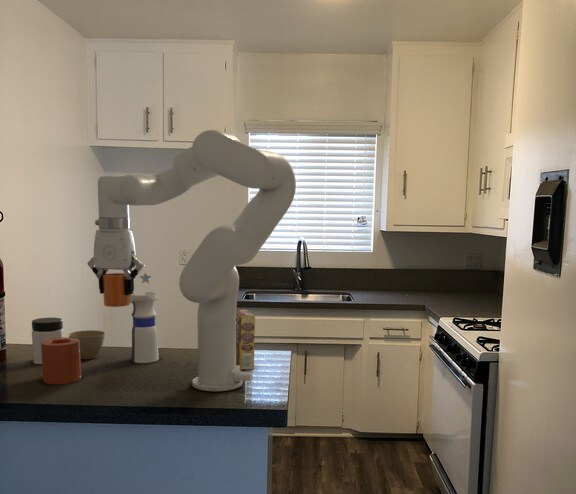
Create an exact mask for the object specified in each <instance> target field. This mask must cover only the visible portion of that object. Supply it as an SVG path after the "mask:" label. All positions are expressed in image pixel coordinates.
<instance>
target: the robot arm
mask: <svg viewBox="0 0 576 494" xmlns="http://www.w3.org/2000/svg"><path fill="white" fill-rule="evenodd" d="M172 161H173V162H172V163H173V165H172V166H171V167H169V168H167V169H165V170H163V171H161V172H159V173H155V174H153V175H143V174H126V175H102V176H100V177H98V179H97V202H98V203H97V207H98V219H95V221H94V224H95V226H98V229H96V230H95V234H94V242H93V257H91V258H90V259H89V261H87V266H88V267H89V268H90V269H91V270H92V272H93V274H94V275H95V276H96V279H98V289H99V294H101V295H104V293H103V274H108V272H109V270H118V271H119V270H120V271H122V273H124V274H125V276H126V280H125V281H124V282H125V295H130V294H133V293H134V291H135V282H134V281H135V279H136V277H137V276H138V275H139V274H140V273H141V271H142V270H143V269H144V268H145V264H144V263H143V261H142V260H141V259H139V257H137V254H136V253H137V251H136V245H135V238H134V235H133V230H131V228H130V206H136V207H137V206H157V205H160V204H164V203H166V202H169V201H170V200H172V199H175V198H177V197H180V196H181V195H183V194H185V193H187V192H188V191H189V190H191V188H192V187H194V186H196V185H199V184H201V183H203V182H205V181H208V180H210V179H212V178H215V177H217V176H220V177H222V178H225V179H226V180H229V181H231V182H233V183H235V184H237V185H240V186H243V187H245V188H249V189H254V190H255V189H258V191H257V193H256V194H255V196H253V197H252V199H250V200H249V201H248V203H246V205H245V206H244V208H243V209H242V211H241V213H240V214H239V215H238V217H237V218H236V219H235V220H234V221H233V222H232V223H231V224H226V225H225V224H224V225H220V226H218V227H215V228H214V229H212V230H211V231H209V233H207V234H206V235H205V237H204V239H202V241H201V242H200V244H199V245H198V247H197V248H196V249H195V251H194V253H193V254H192V256H191V257H190V258H189V260H188V261H187V262H186V264H185V266H184V267H183V269H182V270H181V273H180V276H179V282H178V283H179V284H178V285H179V290H180V293H181V294H182V296H183V297H184V298H185V299H186V300H188V301H190V303H191V302H192V303H196V304H198V307H197V323H196V325H197V372H198V373H197V376H196V377H194V378H193V379H192V380H191V386H192V387H193V388H194V389H197V390H199V391H205V392H227V391H228V392H229V391H233V390H236V389H239V388H240V387H242V386H243V384H244V383H243V382H249V383H250V382H252V380H253V374H252V373H251V372H250V371H243V370H240V366H238V365H236V310H237V306H238V305H237V303H238V296H239V288H240V275H239V272H238V269H237V268H236V266H241V265H245V264H248V263H250V262H251V261H253V259H254V258H255V257H256V255H257V254H258V253H259V251H260V250H261V249H262V247H263V246H264V244H265V243H266V242H267V240H268V239H269V238H270V236H271V235H272V233H273V231H274V230H275V228H277V226H278V225H279V223H280V222H281V220H282V219H283V217H285V215H286V214H287V212H288V211H289V209H290V207H291V205H292V204H293V200H294V198H295V195H296V191H297V190H296V187H297V181H296V176H295V173H294V169H293V167H292V165H291V164H290V162H289V161H288V160H287V159H286V158H285V157H284V156H282V155H281V154H279V153H276V152H273V151H269V150H262V149H257V148H254V147H251V146H250V145H247V144H244V143H242V142H241V140H240V139H239V138H238V137H237V136H235V134H232V133H230V132H225V131H221V130H217V129H207V130H203V131H202V132H200V133H199V134H197V136H196V137H195V138H194V140H193V142H192V144H191V146H190V147H187V148H186V149H184V150H181V151H179V152H177V153H176V154H175V155H174V157H173V160H172ZM133 268H134V269H133Z"/></svg>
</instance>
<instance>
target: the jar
mask: <svg viewBox="0 0 576 494" xmlns="http://www.w3.org/2000/svg"><path fill="white" fill-rule="evenodd" d="M63 324H64V323H63V319H62V318H61V317H40V318H35V319H33V320H31V330H32V331H31V342H32V360H33V364H34V365H41V366H42V352H41V342H42V341H44V340H47V339H53V338H65V333H64V325H63Z"/></svg>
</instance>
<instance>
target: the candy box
mask: <svg viewBox="0 0 576 494" xmlns="http://www.w3.org/2000/svg"><path fill="white" fill-rule="evenodd" d="M255 329H256V315H255V314H254V313H252V312H251V311H250V310H248V309H236V365H238V366H240V370H241V371H246V370H248V371H249V370H251V371H252V370H254V369H255V337H256V330H255Z"/></svg>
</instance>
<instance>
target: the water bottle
mask: <svg viewBox="0 0 576 494" xmlns="http://www.w3.org/2000/svg"><path fill="white" fill-rule="evenodd" d="M151 277H152V275H148V274H147V272H144V274H143V275H140V276H139V278H140V279H142V281H141V284H144V283H147V284H150V280H149V279H150V278H151ZM155 301H159V298H158V296H157V293H156V292H153V291H147V292H145V294H144V295H137V294H136V293H134V292H133V294H130V304H132V307H133V309H132V312H131V317H132V328H131V362H133V363H137V364H149V363H154V362H157V361H159V359H160V356H159V344H158V343H159V342H158V340H159V339H158V328H157V325H156V316H157V313H156V311H155Z"/></svg>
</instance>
